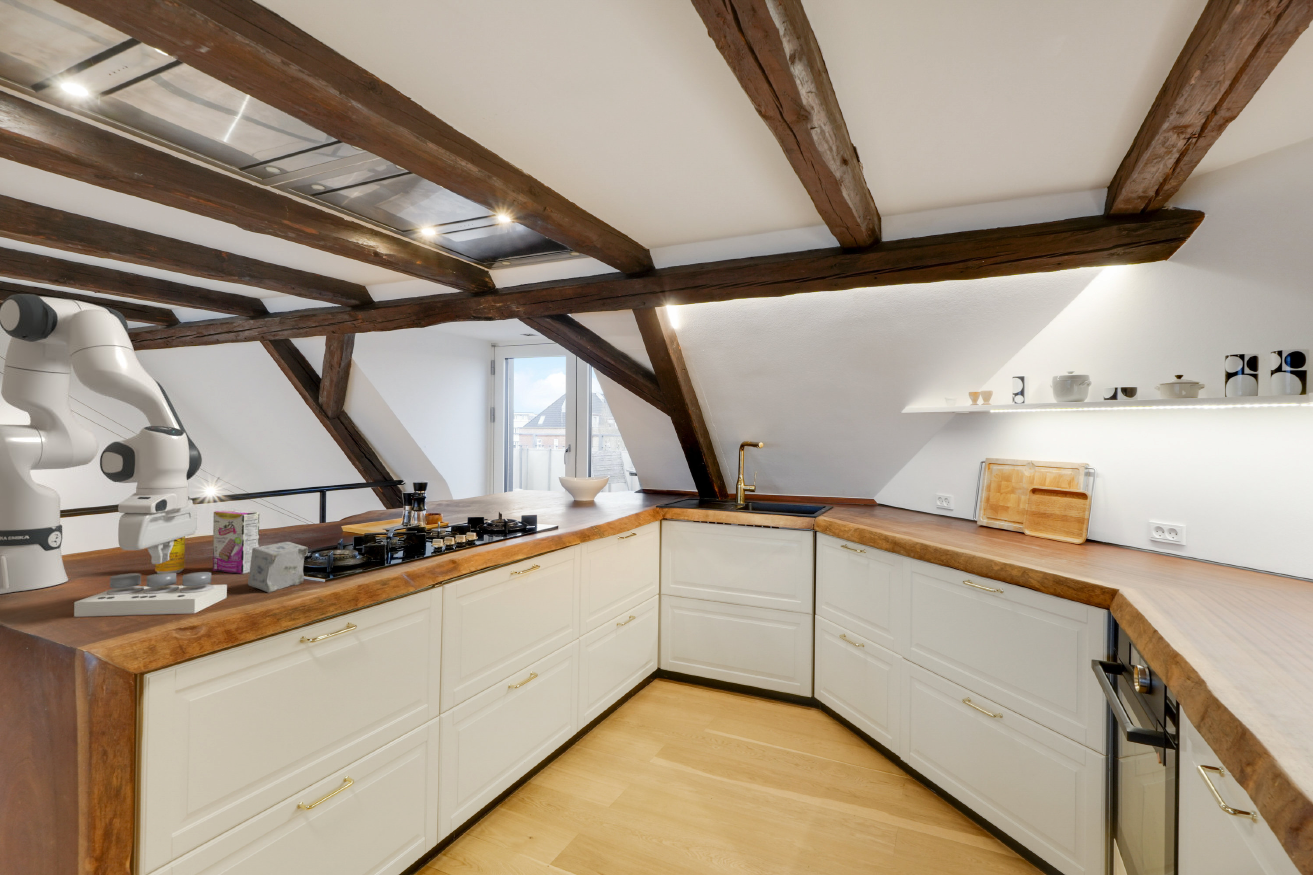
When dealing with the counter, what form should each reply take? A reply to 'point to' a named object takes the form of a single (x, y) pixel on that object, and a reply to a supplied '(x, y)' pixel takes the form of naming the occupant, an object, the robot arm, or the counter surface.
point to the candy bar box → (234, 540)
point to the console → (150, 600)
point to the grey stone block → (277, 566)
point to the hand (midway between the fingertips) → (160, 562)
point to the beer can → (174, 558)
